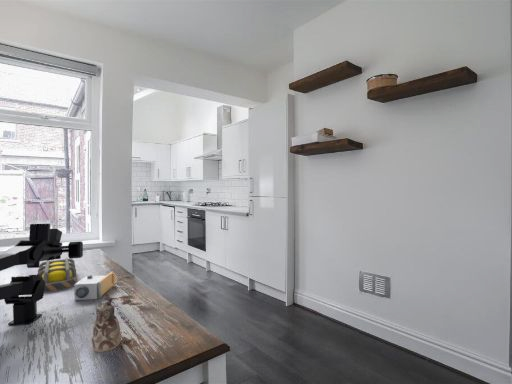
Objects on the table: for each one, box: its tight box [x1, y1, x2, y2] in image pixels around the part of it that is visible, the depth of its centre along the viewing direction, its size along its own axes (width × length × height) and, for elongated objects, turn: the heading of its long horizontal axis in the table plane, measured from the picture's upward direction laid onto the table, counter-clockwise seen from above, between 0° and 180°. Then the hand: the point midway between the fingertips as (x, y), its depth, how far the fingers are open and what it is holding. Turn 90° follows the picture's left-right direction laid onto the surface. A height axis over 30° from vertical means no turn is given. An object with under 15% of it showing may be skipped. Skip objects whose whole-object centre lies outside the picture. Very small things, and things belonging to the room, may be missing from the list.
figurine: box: [91, 297, 122, 353], centre depth 81 cm, size 7×7×12 cm
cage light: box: [36, 257, 78, 293], centre depth 136 cm, size 15×8×30 cm
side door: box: [97, 271, 116, 299], centre depth 121 cm, size 15×1×6 cm, turn 6°
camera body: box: [73, 274, 107, 301], centre depth 118 cm, size 12×8×7 cm, turn 6°
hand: (68, 249), depth 121 cm, fingers open, 9 cm apart
